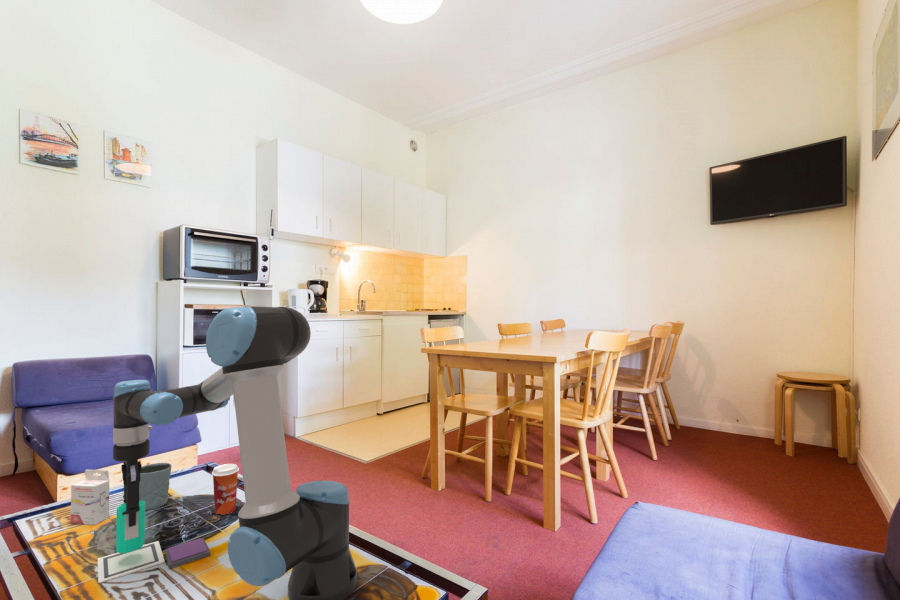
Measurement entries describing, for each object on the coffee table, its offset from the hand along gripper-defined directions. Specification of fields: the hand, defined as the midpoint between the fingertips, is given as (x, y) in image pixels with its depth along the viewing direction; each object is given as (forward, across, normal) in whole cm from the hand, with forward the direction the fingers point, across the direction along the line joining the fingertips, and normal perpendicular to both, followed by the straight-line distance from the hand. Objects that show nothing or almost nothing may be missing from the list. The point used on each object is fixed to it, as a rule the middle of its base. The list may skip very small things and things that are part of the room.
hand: (130, 533), depth 110 cm
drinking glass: (+7, +36, -8) cm, 37 cm away
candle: (+4, 0, 0) cm, 4 cm away
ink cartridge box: (+7, +35, +8) cm, 36 cm away
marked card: (+7, 0, 0) cm, 7 cm away
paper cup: (+7, +14, -25) cm, 30 cm away
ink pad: (+7, -6, -12) cm, 15 cm away
